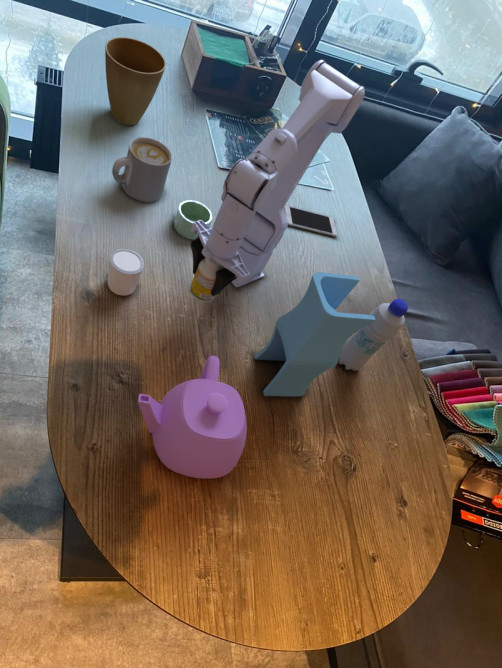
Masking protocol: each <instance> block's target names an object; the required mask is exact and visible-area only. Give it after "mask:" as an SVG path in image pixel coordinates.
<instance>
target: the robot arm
mask: <svg viewBox="0 0 502 668" xmlns="http://www.w3.org/2000/svg"><path fill="white" fill-rule="evenodd" d="M365 95H366V89H365V87H364V86H363V85H360V84H358V83H356V82H355V81H354V80H352V79H350V78H349V77H348V76H346V75H345V74H343V73H342V72H340V71H339V70H337V69H335V68H334V67H332V66H331V65H330V64H328V63H327V62H326V61H325V59H319V60H318V61H316V62H314V64H313V65H311V67H310V69H309V70H308V72H307V74H306V75H305V77H304V78H303V81H302V84H301V85H300V93H299V97H298V100H299V104H298V105H297V107H296V108H295V109H294V111H293V112H292V114H290V117H289V118H288V119H287V120H286V122H285V124H284V125H283V126H282V128H274V129H271V130H270V131H269V132H268V133H267V134H266V136H265V137H264V138H263V139H262V140H261V142H259V143H258V145H257V146H256V147H255V148H254V149H253V150H252V152H251V153H250V154H249V156H247V157H246V158H245V159H243V158H239V159H237V161H235V163H234V164H233V165H232V166H231V168H230V170H229V171H228V173H227V175H226V177H225V179H224V181H223V184H222V185H223V186H222V194H221V197H220V200H221V201H222V202H221V204H220V207H219V209H218V213H217V214H216V217H215V220H214V222H213V225H212V227H211V226H208V225H206V224H205V223H204V222H203V221H202V220H199V221H195V222H193V225H192V228H191V231H192V232H193V233H197V234H198V235H199V236H198V237H197V238H196V240H193V239H192V240H191V241H190V244H189V246H190V248H191V253H192V274H193V275H194V276H195V273H196V271H197V268H198V266H199V263H200V262H201V261H202V260H203V259H205V258H207V259H213V260H215V261H216V262H218V263H219V264H221V265H222V266H224V267H225V268H223V269H221V270H218V271H216V279H215V284H214V286H213V288H212V291H211V295H212V296H215V295H216V296H218V295H220V294H221V293H222V292H223V291H224V290H225V288H227V287H228V285H230V284H232V285H233V286H234V287H235V288H239V287H242V286H244V285H247V284H249V283H252V282H254V281H256V280H259V279H261V278H264V277H265V273H264V270H265V268H266V266H267V265H268V262H269V261H270V259H271V257H272V255H273V251H274V250H275V249H276V247H277V246H278V245H279V243H280V241H281V240H282V239H283V236H284V233H285V231H286V230H287V228H288V226H289V225H288V220H287V217H286V214H285V210H284V206H286V204H287V203H288V202H289V200H290V197H291V196H292V195H293V193H294V191H295V190H296V188H297V186H298V184H299V183H300V182H301V180H302V178H303V176H304V174H306V172H307V170H308V168H309V167H310V166H311V163H312V161H313V160H314V158H315V156H316V155H317V153H318V152H319V150H320V148H321V147H322V145H323V143H324V142H325V140H326V139H327V138H328V137H329V136H330V135H331V134H332V133H333V134H342V133H343V131H345V129H346V128H347V127H348V125H349V124H350V122H351V120H352V119H353V117H354V116H355V114H356V113H357V110H358V109H359V108H360V106H361V104H362V103H363V100H364V98H365ZM216 296H215V297H216Z"/></svg>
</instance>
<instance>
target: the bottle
mask: <svg viewBox="0 0 502 668" xmlns="http://www.w3.org/2000/svg"><path fill="white" fill-rule="evenodd" d="M408 309H409V305H408V303H407V302H406V301H405V300H403V299H401V298H395V299H394V300H392V301H391V303H389V302H382V303H381V304H378V306H377V307H376V308H375V309H373V310H372V311H370V313H369V314H368V315H374V317H375V319H376V320H375V321H374V322H372V323H370V324H368V325H367V326H365V327H363V328H361V329H360V330H358V331H357V332H355V333H354V334H353V335H352V336H351V337H350V338H349V339H348V340H347V341H346V343H345V344H344V346H343V348H342V350H341V353H340V356H339V360H338V364H339V365H344V369H345V370H347V371H349V370H351V371H353V372H356V371H358V370H360V369H361V368H363V367H364V366H365V365H366V364H367V363H368V362H369V361H370V359H371V358H372V357H373V355H374V354H375V353H377V351H379V350H380V349H381V347H383V345H384V344H385V343H386V342H388V341H390V340H391V339H393V337H395V336H396V335H397V334H398V332H399V331H400V330H401V328H402V327H403V325H404V324H405V322H406V321H405V320H406V319H405V315H406V313H407V312H408Z"/></svg>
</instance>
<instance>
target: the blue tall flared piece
mask: <svg viewBox="0 0 502 668" xmlns="http://www.w3.org/2000/svg"><path fill="white" fill-rule="evenodd" d="M359 283H360V278H359V276H356V275H348V274H340V273H339V274H338V273H331V272H323V271H322V272H321V271H317V272H315V273H313V274H312V276H311V278H310V281H309V284H308V287H307V289H306V292H305V293H304V295H303V297H302V298H301V300H300V301H299V303H297V305H296V306H295V307H293V308H292V309H291V310H290V311H287V312H286V313H285V314H283V315H281V316H280V317H278V318H277V320H276V321H275V325H274V328H273V331H272V335H271V337H270V339H269V341H268V343H267V344H266V345H265V346H264V347H263V348H262V349H261V350H260V351H259V352H257V353H256V354H254V355H253V357H254V360H255V361H256V360H259V361H276V362H277V361H279V362H284V363H283V366H281V368H280V370H279V371H278V372H277V374H275V376H274V378H272V380H271V381H270V382H269V383H268V385H267V386H266V387H265V388H264V390H262V393H263V396H264V397H303V396H304V395H305V394H306V391H307V390H308V388H309V387H310V385H311V384H312V383H313V382H314V380H315V379H316V378H318V377H320V375H323V374H324V373H325V372H327V371H329V370H330V369H333V368H335V367H336V365H338V364H339V356H340V353H341V350H342V348H343V346H344V344H345V343H346V342H347V341H348V340H349V339H350V338H351V337H352V336H353V335H354V334H355V333H356V332H357V331H358V330H360V329H361V328H363V327H365V326H367V325H368V324H370V323H372V322H374V321H375V320H376V319H375V317H374V315H369V314H363V313H362V314H361V313H350V312H340V311H337V309H338V307H339V306H340V305H341V304H342V302H344V301H345V299H346V298H347V297H348V295H349V294H350V293H351V292H352V291H353V289H355V287H356V286H357V285H358V284H359Z"/></svg>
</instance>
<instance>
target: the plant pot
mask: <svg viewBox="0 0 502 668" xmlns="http://www.w3.org/2000/svg"><path fill="white" fill-rule="evenodd" d="M104 56H105V58H104V59H105V62H104V63H105V80H106V89H107V90H106V91H107V97H108V102H109V108H110V112H111V116H112V117H113V119H114V120H115V121H117V122H118V123H120V124H122V125H126V126H135V125H137V124H139V122H140V121H141V120H142V118H143V116H144V115H145V113H146V111H147V110H148V108H149V106H150V104H151V102H152V100H153V99H154V96H155V95H156V92H157V91H158V88H159V85H160V82H161V80H162V78H163V75H164V72H165V69H166V66H167V62H166V60H165V57H164V56H163V54H162V53H161V52H160V51H159V50H158V49H156V48H155V47H154V46H152V45H151V44H148V43H147V42H144V41H142V40H139V39H136V38H131V37H125V36H118V37H113V38H110V39H108V40H107V41H106V43H105V45H104Z"/></svg>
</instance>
